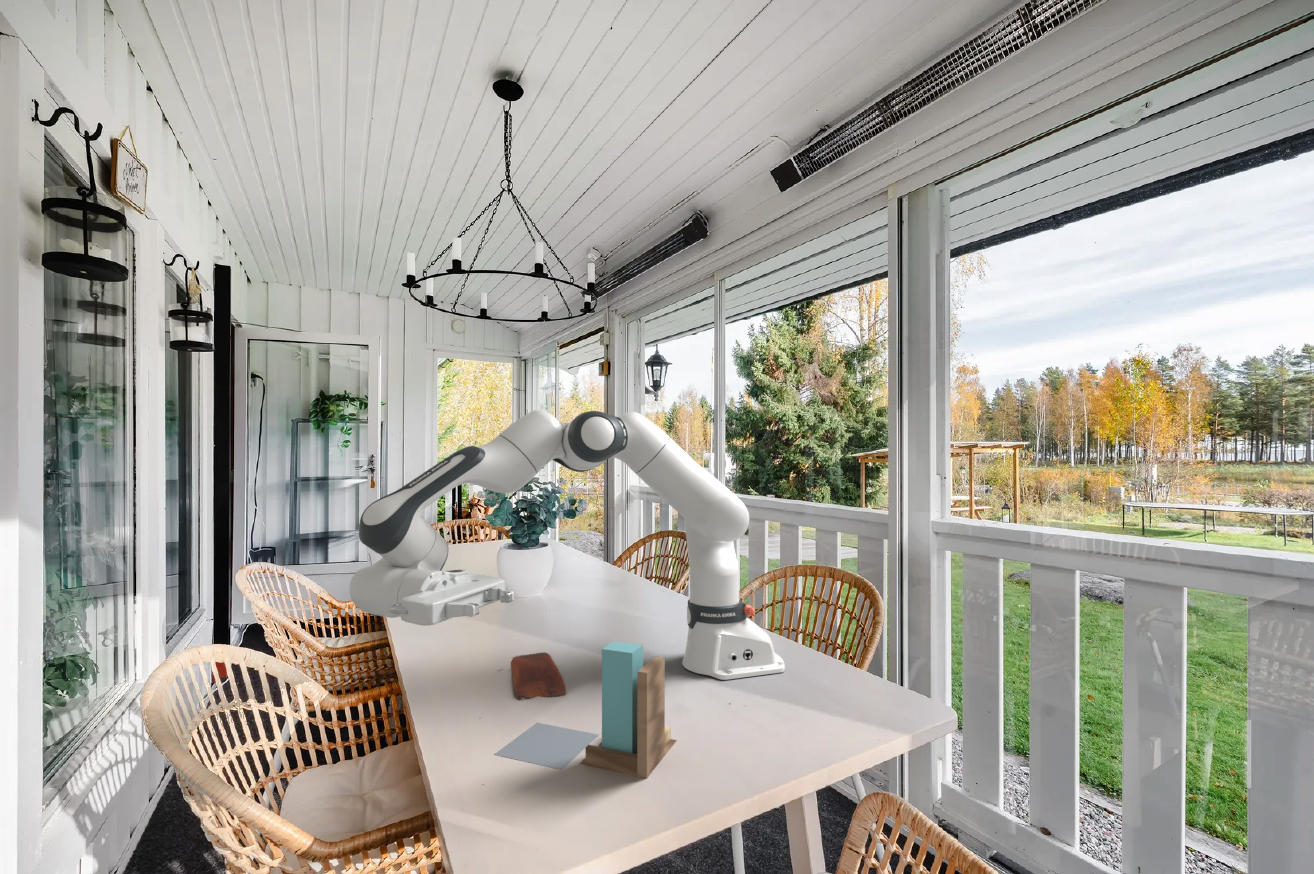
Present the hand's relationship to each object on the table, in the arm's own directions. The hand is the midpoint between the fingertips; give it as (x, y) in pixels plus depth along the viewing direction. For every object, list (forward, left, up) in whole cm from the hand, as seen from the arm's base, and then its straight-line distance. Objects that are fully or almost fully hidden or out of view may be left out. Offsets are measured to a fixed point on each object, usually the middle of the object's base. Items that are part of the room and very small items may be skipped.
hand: (494, 603), depth 104 cm
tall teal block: (-20, +12, -21) cm, 32 cm away
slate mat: (-9, +5, -22) cm, 25 cm away
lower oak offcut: (-24, +6, -21) cm, 32 cm away
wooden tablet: (-6, -29, -23) cm, 38 cm away
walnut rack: (-22, +9, -22) cm, 33 cm away
